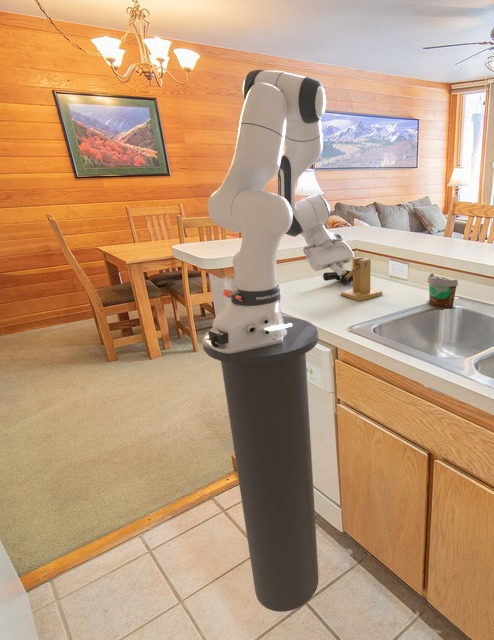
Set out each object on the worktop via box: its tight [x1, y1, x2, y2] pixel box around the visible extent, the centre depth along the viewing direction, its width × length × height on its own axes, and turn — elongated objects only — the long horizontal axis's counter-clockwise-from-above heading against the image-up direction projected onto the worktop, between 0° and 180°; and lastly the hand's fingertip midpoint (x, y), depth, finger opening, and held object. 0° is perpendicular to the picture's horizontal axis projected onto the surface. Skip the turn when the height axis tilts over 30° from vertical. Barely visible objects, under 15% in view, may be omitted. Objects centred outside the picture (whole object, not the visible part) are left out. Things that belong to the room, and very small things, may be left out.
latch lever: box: [338, 258, 365, 286], centre depth 159 cm, size 13×3×3 cm, turn 134°
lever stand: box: [340, 256, 383, 302], centre depth 163 cm, size 12×10×14 cm
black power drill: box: [322, 269, 353, 284], centre depth 180 cm, size 5×20×15 cm
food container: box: [426, 272, 459, 309], centre depth 155 cm, size 12×6×10 cm, turn 42°
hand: (343, 274), depth 156 cm, fingers closed
